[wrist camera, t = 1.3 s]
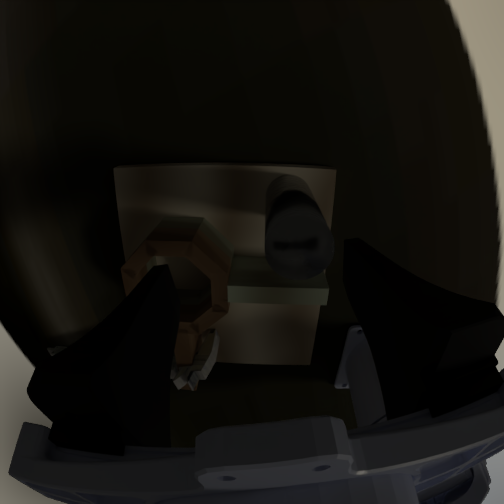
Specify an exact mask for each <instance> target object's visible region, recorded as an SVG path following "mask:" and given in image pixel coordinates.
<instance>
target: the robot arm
mask: <svg viewBox="0 0 504 504" xmlns="http://www.w3.org/2000/svg"><path fill="white" fill-rule="evenodd" d="M343 282H344V286H345V289H346V292H347V295H348V299H349V301H350V304H351V306H352V308H353V310H354V312H355V315H356V317H357V319H358V321H359V323H360V325H353V326H351V327H350V328H349V329H348V333H347V337H346V341H345V345H344V349H343V353H342V357H341V361H340V364H339V368H338V372H337V375H336V379H335V382H334V386H335V388H350V393H351V397H352V402H353V406H354V411H355V416H356V420H357V425H358V428H355V429H351V430H346V426H345V424H344V422H343V420H341V419H339V418H335V417H331V416H328V415H327V416H310V417H304V418H297V419H291V420H283V421H275V422H267V423H258V424H248V425H236V426H223V427H218V428H212V429H208V430H206V431H205V432H203V433H201V434H200V435H198V436H197V437H196V446H195V448H171V439H170V414H169V408H170V375H171V367H172V361H173V355H174V350H175V344H176V339H177V334H178V328H179V322H180V299H179V296H178V293H177V290H176V287H175V284H174V281H173V278H172V275H171V272H170V269H169V266H168V264H163V265H156V266H153V267H152V268H151V269H150V270H149V272H148V273H147V274H146V275H145V276H144V277H143V278H142V280H141V281H140V282H139V283H138V284H137V285H136V287H135V288H134V289H133V290H132V291H131V292H130V293H129V295H128V296H127V297H126V298H125V299H124V300H123V301H122V302H121V303H120V304H119V305H118V306H117V307H116V308H115V310H114V311H113V312H112V313H110V314H109V315H108V316H107V317H106V318H105V319H104V320H103V321H102V322H101V323H99V324H98V325H97V326H96V327H95V328H93V329H92V330H91V331H90V332H88V333H87V334H86V335H84V336H83V337H82V338H80V339H79V340H78V341H76V342H75V343H73V344H72V345H70V346H68V347H67V348H65V349H64V350H62V351H60V352H59V353H57V354H55V355H53V356H51V357H49V358H47V359H45V360H43V361H41V362H39V363H37V366H36V368H35V370H34V373H33V375H32V377H31V380H30V382H29V385H28V387H27V394H28V396H29V398H30V400H31V401H32V402H33V403H34V405H35V406H36V407H37V408H38V409H40V411H41V412H43V414H45V415H46V416H47V417H48V418H49V419H50V420H51V421H52V422H53V424H52V427H51V429H50V428H48V427H46V426H43V425H38V424H33V423H28V422H24V423H23V425H22V429H21V431H20V434H19V438H18V441H17V444H16V447H15V451H14V454H13V457H12V461H11V464H10V468H9V472H8V473H9V475H11V476H12V477H14V478H15V479H17V480H18V481H20V482H22V483H23V484H25V485H27V486H29V487H30V488H32V489H33V490H35V491H37V492H39V493H41V494H43V495H44V496H46V497H48V498H51V499H54V500H58V501H61V502H64V503H68V504H481V503H482V502H483V500H484V499H485V497H486V496H487V494H488V492H489V490H490V488H489V484H490V483H491V479H490V476H489V473H488V470H487V467H486V464H487V463H486V459H487V458H490V457H491V456H493V455H495V454H497V453H498V452H500V451H502V450H503V449H504V369H502V370H501V371H500V372H498V370H497V368H496V365H497V364H498V360H497V358H496V357H495V353H496V351H497V349H498V348H499V346H500V344H501V342H502V340H503V338H504V316H503V314H502V313H501V312H500V310H499V309H498V308H497V306H496V305H495V304H494V303H490V302H485V301H481V300H477V299H472V298H469V297H466V296H462V295H459V294H456V293H453V292H451V291H448V290H445V289H443V288H441V287H438V286H436V285H434V284H431V283H429V282H427V281H425V280H423V279H421V278H419V277H417V276H416V275H414V274H412V273H410V272H409V271H407V270H405V269H404V268H402V267H400V266H399V265H397V264H396V263H394V262H393V261H391V260H390V259H388V258H387V257H385V256H384V255H382V254H381V253H380V252H378V251H377V250H375V249H374V248H373V247H371V246H370V245H368V244H367V243H365V242H364V241H363V240H361V239H359V238H354V239H346V240H344V264H343ZM359 330H361V331H359ZM358 331H359V332H358Z"/></svg>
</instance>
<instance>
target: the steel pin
mask: <svg viewBox="0 0 504 504" xmlns="http://www.w3.org/2000/svg"><path fill="white" fill-rule="evenodd" d="M334 251H335V243H334V238H333V236H332V233H331V231H330V229H329V227H328V225H327V223H326V220H325V218H324V216H323V214H322V212H321V210H320V208H319V206H318V204H317V202H316V200H315V198H314V196H313V194H312V191H311V189H310V187H309V186H308V184H307V183H306V182H305V181H304V180H303V179H302V178H300V177H298V176H295V175H282V176H280V177H277V178H276V179H274V180H273V181H272V182H271V183H270V185H269V186H268V188H267V191H266V204H265V257H266V260H267V262H268V264H269V266H270V267H271V268H272V269H273V270H274V271H275V272H276V273H277V274H279V275H280V276H282V277H284V278H287V279H291V280H306V279H310V278H312V277H315V276H317V275H318V274H320V273H321V272H323V271H324V270H325V269H326V268H327V267H328V265H329V264H330V262H331V260H332V258H333V255H334Z"/></svg>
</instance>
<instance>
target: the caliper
mask: <svg viewBox="0 0 504 504" xmlns="http://www.w3.org/2000/svg"><path fill="white" fill-rule="evenodd" d="M219 341H220V337H219V335H218V333H217V330H216V329H213V330H210V331H209V333H208V335H207V336H206V338H205V340H204V341H203V343H202V345H201V346H200V348H199V350H198V352H197V353H196V354H195V357H194V361H193V365H192V366H184V367H179V371H178V368H177V363H176V358H175V352H174V355H173V361H172V367H171V375H170V379H173V382H174V384H175V385H176V387H177V388H178V390H179V389H181V388H182V387H183V386H184V385H186V384H187V383H188V385H189V387H190V388H191V390H192V391H193V390H194V388H195V386H196V384H197V382H198V380H206V378H207V376H208V375H209V373H210V371H211V369H212V367H213V365H214V363H215V362H216V358H217V352H218V347H219ZM67 347H68V346H60V345H57V346H56V347H55V348H51V347H48V348H47V350H48V351H49V353H50V354H51V356H53V355H55V354H57V353H59V352H60V351H62V350H64V349H65V348H67Z"/></svg>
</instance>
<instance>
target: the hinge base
mask: <svg viewBox="0 0 504 504" xmlns="http://www.w3.org/2000/svg"><path fill="white" fill-rule="evenodd" d="M113 169H114V180H115V190H116V199H117V207H118V215H119V222H120V230H121V236H122V243H123V249H124V255H125V261H126V263H125V264H124V265H123V266H122V268H121V273H122V278H123V283H124V288H125V293H126V297H127V296H128V295H129V293H130V292H131V291H132V290H133V289H134V288H135V287H136V285H137V284H138V283H139V282H140V281H141V280H142V278H143V277H144V276H145V275H146V274H147V273H148V272H149V270H150V269H151V268H152V267H153V266H156V265H163V264H168V266H169V269H170V272H171V275H172V278H173V281H174V284H175V287H176V290H177V293H178V296H179V299H180V322H179V328H178V334H177V339H176V344H175V350H174V352H175V358H176V363H177V368H178V371H179V367H184V366H192V365H193V361H194V357H195V354H196V353H197V352H198V350H199V348H200V346H201V345H202V343H203V341H204V340H205V338H206V336H207V335H208V333H209V331H210V330H213V329H216V330H217V333H218V335H219V337H220V341H219V347H218V352H217V358H216V362H226V363H245V364H272V365H310V362H311V357H312V351H313V346H314V340H315V334H316V328H317V322H318V316H319V310H320V305H327V299H328V293H329V287H328V283H327V280H326V277H325V270H324V271H323V272H321V273H320V274H318V275H317V276H315V277H312V278H310V279H306V280H291V279H287V278H284V277H282V276H280V275H279V274H277V273H276V272H275V271H274V270H273V269H272V268H271V267H270V266H269V264H268V262H267V260H266V257H265V204H266V191H267V188H268V186H269V185H270V183H271V182H272V181H273V180H274V179H276V178H277V177H280V176H282V175H295V176H298V177H300V178H302V179H303V180H304V181H305V182H306V183H307V184H308V186H309V187H310V189H311V191H312V194H313V196H314V198H315V200H316V202H317V204H318V206H319V208H320V210H321V212H322V214H323V216H324V218H325V220H326V223H327V225H328V227H329V229H331V220H332V211H333V201H334V191H335V180H336V169H335V168H334V167H328V166H313V165H294V164H270V163H161V164H138V165H120V166H117V167H115V168H113ZM198 381H199V380H198ZM197 386H198V382H197V384H196V386H195V388H194V391H196V390H197ZM182 389H185V390H191V388H190V387H189V385H188V383H187V384H186V385H184V386H183V387H182Z"/></svg>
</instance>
